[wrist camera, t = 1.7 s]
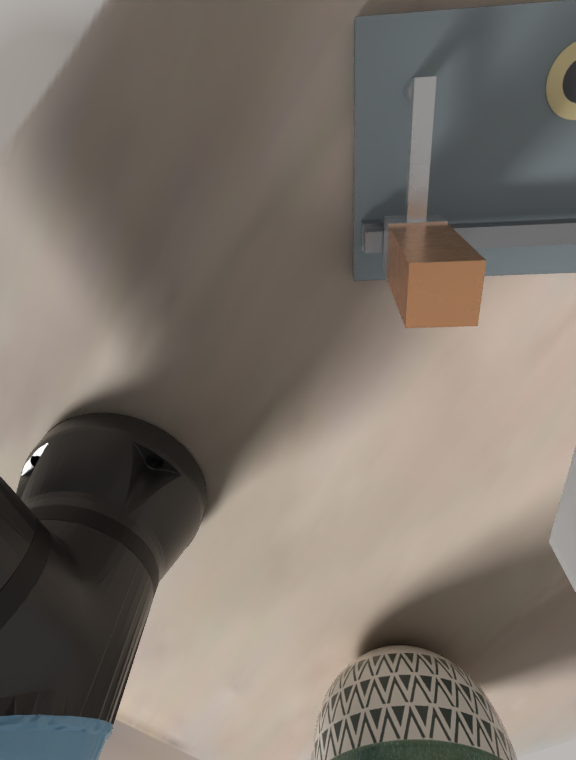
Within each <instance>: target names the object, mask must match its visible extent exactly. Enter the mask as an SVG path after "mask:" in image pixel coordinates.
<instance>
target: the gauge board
mask: <svg viewBox="0 0 576 760" xmlns="http://www.w3.org/2000/svg"><path fill="white" fill-rule="evenodd" d="M432 76H437V78H436V92H435V106H434V119H433V133H432V147H431V160H430V174H429V187H428V201H427V214H441V215H442V216H443V217H444V218H445V219H446V220H447V221H448V222H447V223H448V224H457V223H479V222H501V221H523V220H545V219H568V218H576V0H563V1H550V2H537V3H524V4H512V5H499V6H486V7H473V8H460V9H447V10H435V11H422V12H409V13H396V14H383V15H370V16H357V17H355V20H354V193H353V278H354V281H360V280H387V279H386V277H385V274H384V271H383V253H365V251H362V249H361V220H375V219H381V220H382V222H383V227H384V218H385V216H400V215H405V202H406V183H407V164H408V145H409V126H410V108H411V101H410V100H407V99H406V98H405V96H404V88H405V86H406V84H407V83H409V82H411V81H412V78H417V77H432ZM475 250H476V251H477V252H478V253H479V254H480V255H481V256H482V257H483V258H485V259H486V267H485V274H484V276H495V275H522V274H549V273H576V245H552V246H528V247H504V248H479V249H475Z"/></svg>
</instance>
